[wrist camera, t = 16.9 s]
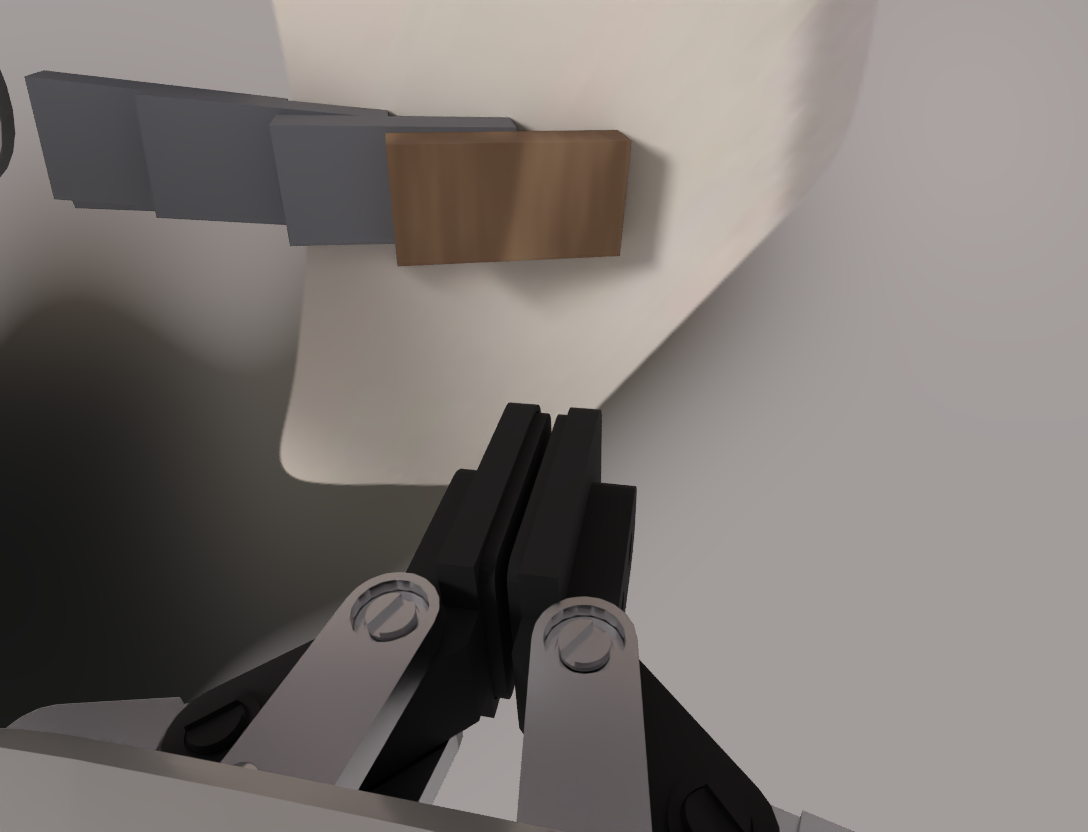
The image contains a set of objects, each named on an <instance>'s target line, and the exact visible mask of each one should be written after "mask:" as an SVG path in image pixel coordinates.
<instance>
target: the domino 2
mask: <svg viewBox="0 0 1088 832" xmlns="http://www.w3.org/2000/svg"><path fill="white" fill-rule="evenodd" d="M134 97H135V103H136V108H137V114H138V119H139V124H140V130H141V135H142V141H143V146H144V152H145V157H146V162H147V168H148V173H149V179H150V184H151V189H152V195H153V200H154V206H155V211H156V217H157V218H173V219H191V220H210V221H228V222H245V223H263V224H281V225H286V219H285V213H284V207H283V202H282V196H281V190H280V184H279V179H278V173H277V167H276V161H275V156H274V150H273V144H272V138H271V133H270V127H269V125H270V123H271V121H272V120H273V118H274V117H275V115H348V116H388V110H378V109H367V108H357V107H347V106H337V105H327V104H316V103H306V102H296V101H286V100H276V99H266V98H255V97H245V96H235V95H225V94H215V93H204V92H194V91H184V90H174V89H164V88H154V87H146V88H145V89H143V90H141V91H139V92H137V93H135V94H134Z"/></svg>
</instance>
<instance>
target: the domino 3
mask: <svg viewBox="0 0 1088 832" xmlns="http://www.w3.org/2000/svg"><path fill="white" fill-rule="evenodd" d="M269 127H270V133H271V138H272V144H273V150H274V156H275V161H276V167H277V173H278V179H279V184H280V190H281V196H282V202H283V207H284V213H285V219H286V225H287V230H288V236H289V242H290V246H307V245H353V244H395V234H394V224H393V214H392V204H391V194H390V184H389V174H388V164H387V154H386V141H385V133H412V132H498V131H517V127H516V126H515V124H514V123H513V122H512V120H511V119H510V118H503V117H425V116H348V115H275V117H274V118H273V120H272V121H271V123H270V125H269Z"/></svg>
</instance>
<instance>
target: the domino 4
mask: <svg viewBox="0 0 1088 832" xmlns="http://www.w3.org/2000/svg"><path fill="white" fill-rule="evenodd" d="M385 141H386V154H387V164H388V174H389V184H390V194H391V204H392V214H393V224H394V234H395V244H396V254H397V264H398V266H412V265H434V264H455V263H476V262H498V261H519V260H541V259H562V258H583V257H605V256H620V248H621V238H622V228H623V218H624V208H625V198H626V188H627V178H628V168H629V158H630V148H631V140H629V139H628V138H627V137H626V136H624V135H623V134H622V133H621V132H619V131H618V130H583V131H498V132H412V133H385Z"/></svg>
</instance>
